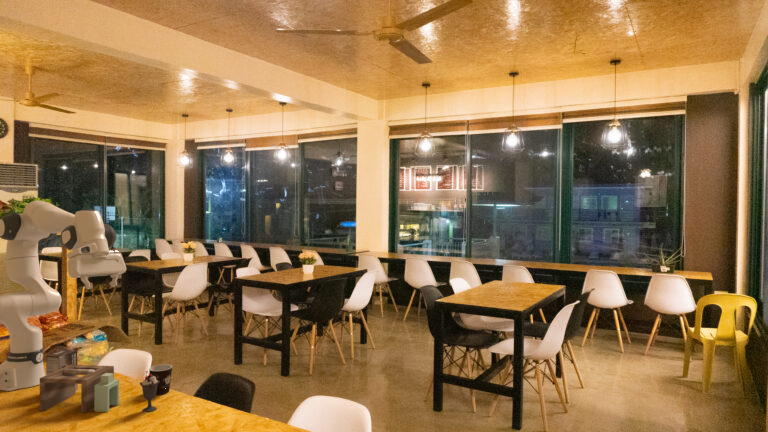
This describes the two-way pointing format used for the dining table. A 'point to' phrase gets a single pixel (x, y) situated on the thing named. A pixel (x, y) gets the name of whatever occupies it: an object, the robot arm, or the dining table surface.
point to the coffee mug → (162, 377)
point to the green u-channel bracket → (106, 393)
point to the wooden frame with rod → (71, 385)
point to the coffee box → (61, 361)
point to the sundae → (149, 390)
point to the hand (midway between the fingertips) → (102, 287)
